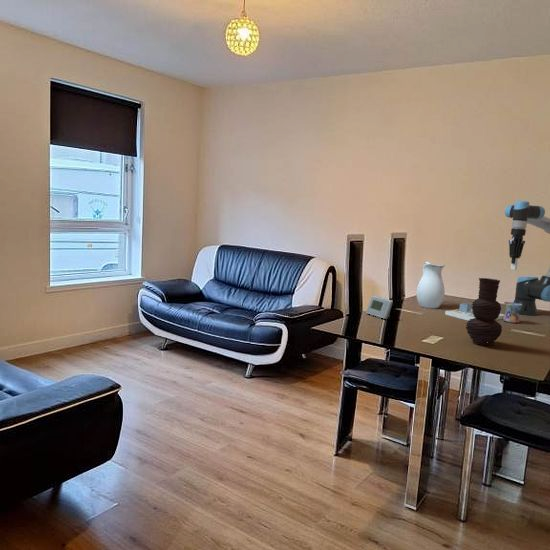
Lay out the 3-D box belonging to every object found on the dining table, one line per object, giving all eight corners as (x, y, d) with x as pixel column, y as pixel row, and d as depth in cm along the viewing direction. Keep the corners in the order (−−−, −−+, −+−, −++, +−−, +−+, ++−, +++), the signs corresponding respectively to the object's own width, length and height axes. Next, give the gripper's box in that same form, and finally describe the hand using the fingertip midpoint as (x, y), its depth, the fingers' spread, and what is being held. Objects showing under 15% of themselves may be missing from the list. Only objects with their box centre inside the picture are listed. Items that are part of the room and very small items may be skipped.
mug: (517, 324, 273) (520, 306, 272) (500, 321, 279) (502, 303, 278) (522, 321, 283) (524, 303, 281) (505, 318, 288) (507, 300, 287)
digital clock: (364, 313, 278) (366, 295, 276) (378, 313, 281) (379, 295, 279) (379, 320, 262) (381, 300, 261) (394, 320, 266) (395, 300, 264)
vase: (482, 349, 217) (490, 282, 213) (456, 339, 231) (464, 276, 227) (507, 347, 223) (516, 282, 219) (481, 338, 237) (488, 276, 233)
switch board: (476, 311, 306) (477, 306, 305) (506, 318, 289) (507, 313, 289) (445, 314, 289) (445, 309, 289) (474, 322, 273) (475, 317, 272)
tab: (463, 310, 294) (464, 302, 294) (470, 311, 290) (471, 303, 289) (459, 310, 292) (460, 302, 291) (466, 312, 288) (467, 304, 287)
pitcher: (446, 310, 303) (451, 265, 299) (419, 308, 303) (423, 263, 299) (434, 302, 326) (439, 261, 323) (409, 301, 327) (413, 259, 323)
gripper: (519, 228, 287) (513, 268, 290) (505, 227, 280) (500, 268, 283) (531, 229, 281) (526, 270, 284) (518, 228, 274) (512, 270, 277)
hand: (513, 269), depth 284 cm, fingers closed
